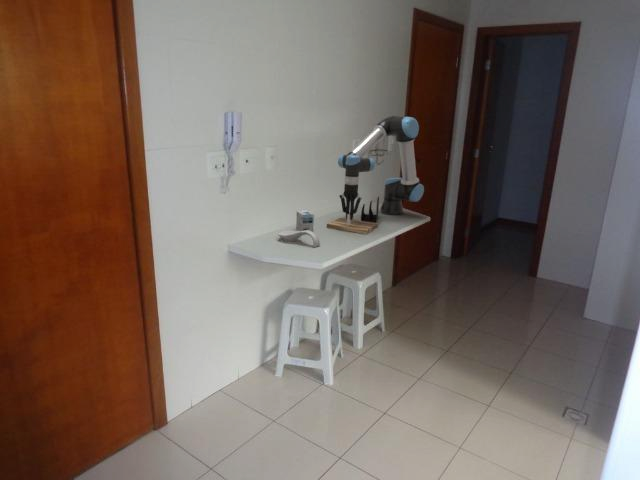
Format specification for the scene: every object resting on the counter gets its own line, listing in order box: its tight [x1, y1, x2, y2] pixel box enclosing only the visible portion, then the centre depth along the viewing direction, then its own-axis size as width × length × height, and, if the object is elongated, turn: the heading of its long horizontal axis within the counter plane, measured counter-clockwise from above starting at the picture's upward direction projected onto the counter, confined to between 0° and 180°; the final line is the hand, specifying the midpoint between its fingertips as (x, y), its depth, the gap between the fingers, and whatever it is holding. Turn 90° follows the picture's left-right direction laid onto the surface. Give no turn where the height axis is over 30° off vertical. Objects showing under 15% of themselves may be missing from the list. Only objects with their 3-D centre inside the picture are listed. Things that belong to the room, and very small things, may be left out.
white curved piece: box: [278, 230, 321, 248], centre depth 237 cm, size 24×12×7 cm, turn 55°
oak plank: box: [326, 220, 373, 235], centre depth 266 cm, size 10×24×2 cm, turn 64°
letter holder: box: [360, 196, 380, 223], centre depth 289 cm, size 10×20×14 cm, turn 171°
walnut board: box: [334, 217, 379, 231], centre depth 275 cm, size 9×24×2 cm, turn 64°
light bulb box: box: [295, 209, 315, 233], centre depth 257 cm, size 11×7×11 cm, turn 22°
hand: (348, 224), depth 265 cm, fingers closed
